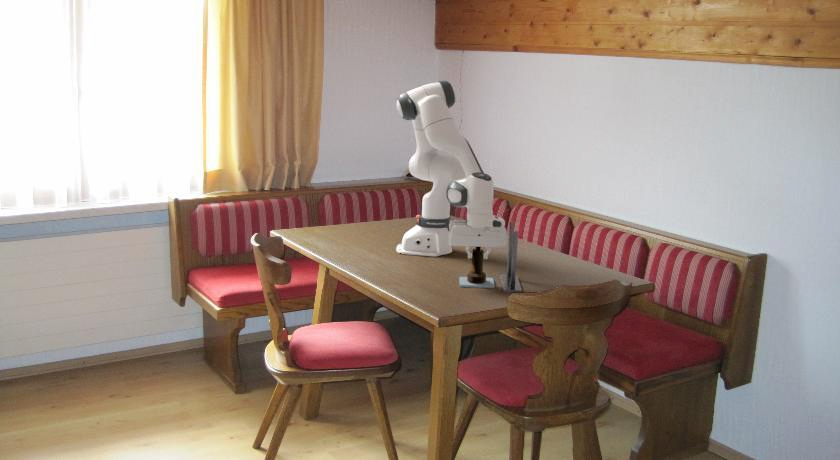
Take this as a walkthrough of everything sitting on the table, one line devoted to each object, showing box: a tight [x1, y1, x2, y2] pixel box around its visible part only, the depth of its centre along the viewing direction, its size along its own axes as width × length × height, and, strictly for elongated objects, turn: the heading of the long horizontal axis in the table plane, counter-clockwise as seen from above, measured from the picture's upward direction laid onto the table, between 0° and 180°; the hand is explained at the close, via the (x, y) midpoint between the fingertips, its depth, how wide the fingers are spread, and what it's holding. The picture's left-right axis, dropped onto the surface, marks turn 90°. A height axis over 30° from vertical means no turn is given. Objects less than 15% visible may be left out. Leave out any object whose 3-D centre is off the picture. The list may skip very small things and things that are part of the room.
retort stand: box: [499, 221, 523, 294], centre depth 301 cm, size 6×19×21 cm, turn 179°
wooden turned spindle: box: [466, 234, 487, 283], centre depth 301 cm, size 7×6×18 cm
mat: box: [458, 276, 496, 289], centre depth 303 cm, size 12×10×1 cm
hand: (477, 258), depth 301 cm, fingers open, 4 cm apart
